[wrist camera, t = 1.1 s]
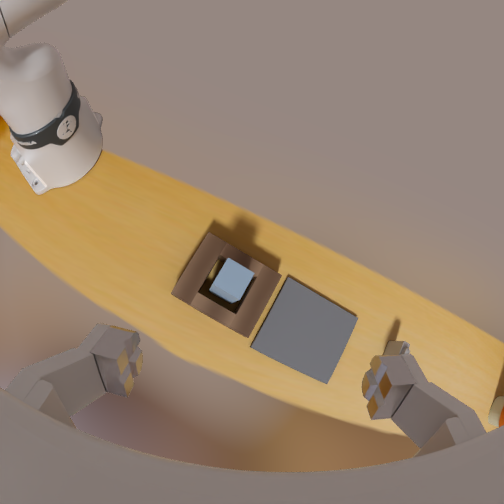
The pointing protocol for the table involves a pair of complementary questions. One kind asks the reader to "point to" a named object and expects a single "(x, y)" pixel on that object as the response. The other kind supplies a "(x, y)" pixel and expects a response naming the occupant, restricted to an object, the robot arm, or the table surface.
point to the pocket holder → (250, 302)
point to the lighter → (397, 348)
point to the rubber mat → (305, 331)
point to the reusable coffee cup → (497, 412)
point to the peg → (231, 281)
